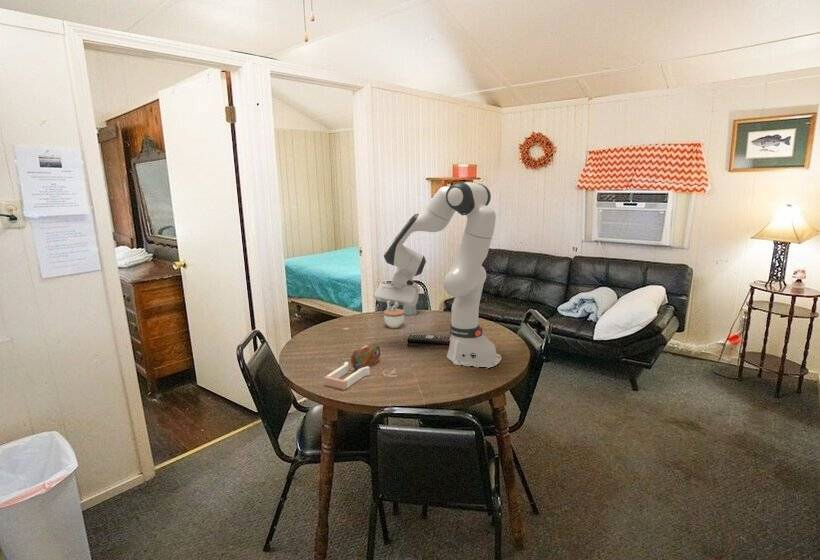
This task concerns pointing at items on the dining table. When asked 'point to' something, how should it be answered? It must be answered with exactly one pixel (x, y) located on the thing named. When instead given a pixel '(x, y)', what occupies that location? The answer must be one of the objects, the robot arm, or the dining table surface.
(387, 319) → the lidded jar
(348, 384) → the guide channel
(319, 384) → the dining table surface
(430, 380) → the dining table surface
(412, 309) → the coffee maker
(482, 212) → the robot arm
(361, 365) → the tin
